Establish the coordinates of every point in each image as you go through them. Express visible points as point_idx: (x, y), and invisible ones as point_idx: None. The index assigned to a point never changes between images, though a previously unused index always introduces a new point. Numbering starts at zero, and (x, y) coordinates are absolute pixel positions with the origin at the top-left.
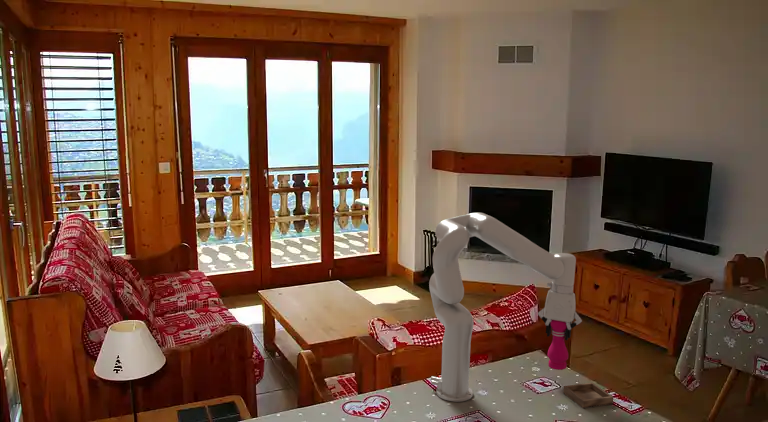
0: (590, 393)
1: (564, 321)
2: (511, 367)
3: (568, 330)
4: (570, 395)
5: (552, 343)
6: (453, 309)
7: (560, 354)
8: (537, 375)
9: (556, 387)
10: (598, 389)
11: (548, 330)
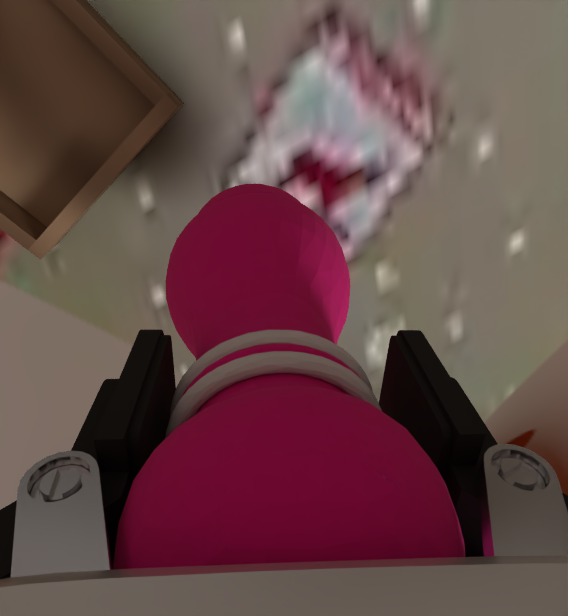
0: (29, 162)
1: (100, 577)
2: (508, 302)
3: (100, 454)
4: (116, 36)
5: (325, 307)
6: None
7: (217, 223)
8: (367, 273)
9: (240, 168)
10: None
11: (434, 380)
